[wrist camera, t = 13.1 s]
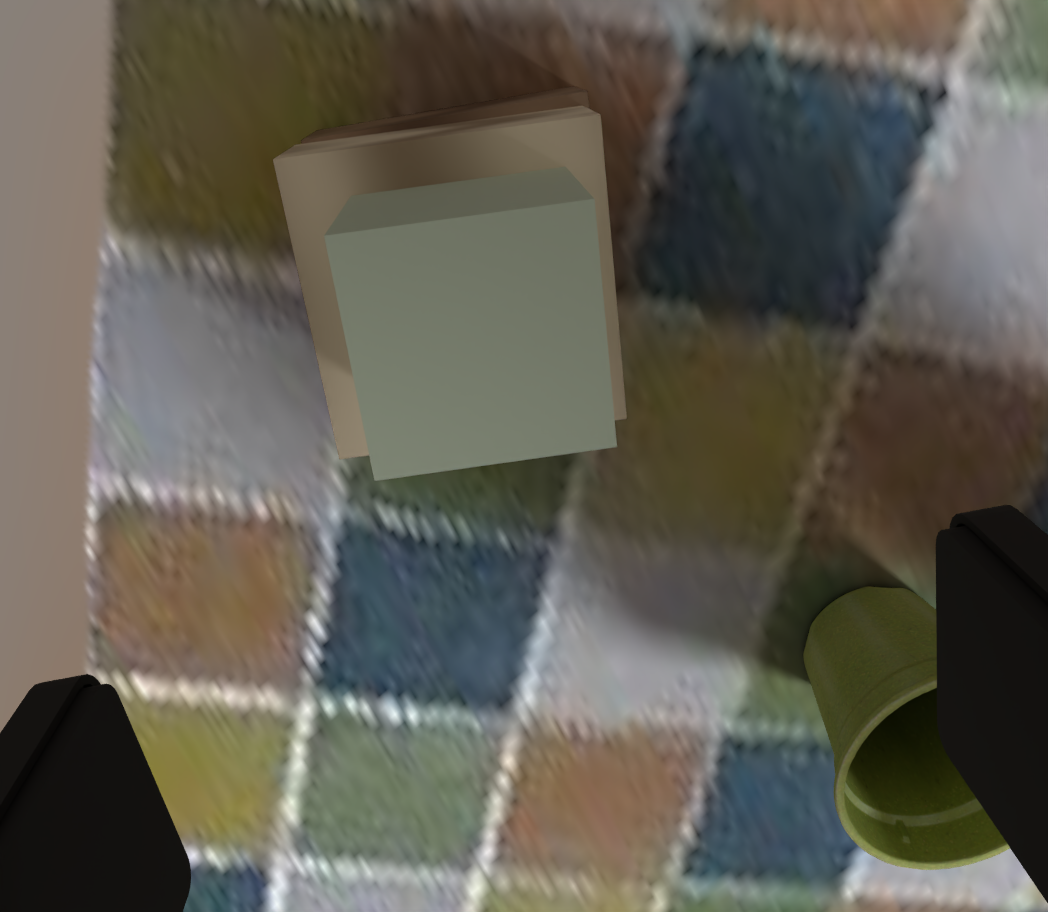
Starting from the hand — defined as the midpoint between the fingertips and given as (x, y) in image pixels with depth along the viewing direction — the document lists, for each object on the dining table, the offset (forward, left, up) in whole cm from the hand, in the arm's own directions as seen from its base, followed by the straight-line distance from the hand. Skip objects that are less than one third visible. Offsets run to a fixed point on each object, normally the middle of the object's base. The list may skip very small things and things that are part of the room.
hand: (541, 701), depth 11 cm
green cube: (0, 0, -19) cm, 19 cm away
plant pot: (-14, +21, -27) cm, 36 cm away
